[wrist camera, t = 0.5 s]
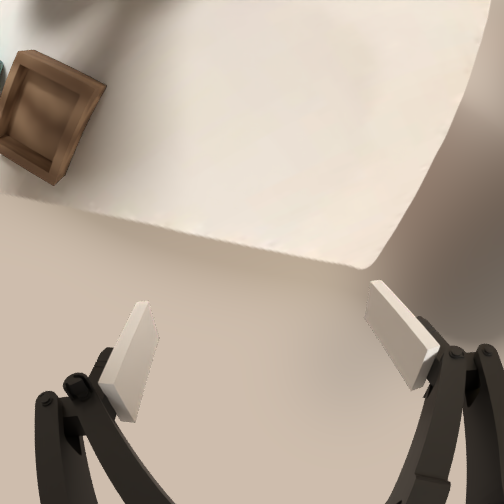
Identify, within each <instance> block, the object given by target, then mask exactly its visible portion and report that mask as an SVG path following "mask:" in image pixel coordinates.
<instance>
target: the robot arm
mask: <svg viewBox="0 0 504 504" xmlns="http://www.w3.org/2000/svg"><path fill="white" fill-rule="evenodd" d="M365 320H366V322H367V323H368V325H369V326H370V328H371V329H372V331H373V332H374V333H375V335H376V337H377V338H378V340H379V341H380V343H381V344H382V346H383V347H384V349H385V350H386V352H387V354H388V355H389V356H390V358H391V360H392V361H393V363H394V364H395V366H396V368H397V369H398V371H399V373H400V374H401V376H402V377H403V379H404V381H405V382H406V384H407V386H408V387H409V389H410V390H411V391H412V390H415V389H418V388H421V387H423V385H424V383H425V381H426V379H427V380H428V381H429V383H430V385H429V387H428V389H427V391H426V393H425V395H424V398H425V401H424V405H423V409H422V412H421V416H420V419H419V423H418V426H417V429H416V432H415V435H414V438H413V441H412V444H411V447H410V450H409V452H408V455H407V458H406V460H405V463H404V465H403V468H402V470H401V473H400V475H399V478H398V480H397V482H396V484H395V487H394V489H393V491H392V493H391V495H390V497H389V499H388V501H387V502H386V503H385V504H445V503H446V500H447V497H448V494H449V491H450V486H451V484H450V482H449V481H448V475H449V471H450V468H451V464H452V460H453V455H454V452H455V447H456V442H457V437H458V432H459V427H460V421H461V414H462V408H463V416H464V424H465V437H466V455H467V489H466V504H504V370H503V367H502V363H501V361H500V358H499V355H498V352H497V350H496V349H495V348H494V347H493V346H491V345H489V344H481V345H479V347H478V349H477V351H476V352H470V353H466V352H465V351H464V350H463V349H462V348H460V347H458V346H450V345H449V344H448V343H447V342H446V341H445V340H444V339H443V338H442V337H441V335H440V334H439V333H438V332H436V330H435V328H434V327H432V325H431V324H430V323H429V322H428V321H427V320H426V319H424V318H422V317H421V316H418V317H415V316H414V315H413V314H412V313H411V312H410V310H409V309H408V308H407V307H406V306H405V305H404V304H403V303H402V302H401V301H400V300H399V298H398V297H397V296H396V295H395V294H394V293H393V292H392V291H391V290H390V289H389V288H388V287H387V286H386V285H385V284H384V282H383V281H382V280H376V281H370V287H369V294H368V300H367V307H366V313H365ZM158 341H159V335H158V332H157V329H156V325H155V322H154V318H153V315H152V311H151V307H150V303H149V301H140V302H139V301H138V302H137V303H136V304H135V306H134V309H133V310H132V312H131V314H130V316H129V318H128V320H127V322H126V324H125V326H124V328H123V330H122V332H121V334H120V336H119V338H118V340H117V342H116V344H115V347H114V348H110V347H107V348H106V349H105V350H103V351H102V352H101V353H100V355H99V357H98V359H97V362H96V363H95V365H94V367H93V369H92V371H91V374H90V375H89V377H87V375H85V374H83V373H74V374H72V375H70V376H68V377H67V378H66V379H65V381H64V383H63V388H64V390H65V392H66V393H67V395H68V396H69V397H62V398H58V396H57V395H56V394H55V393H54V392H52V391H46V392H43V393H41V394H40V395H39V396H38V398H37V399H36V403H35V456H36V470H37V480H38V489H39V496H40V503H41V504H98V502H97V499H96V495H95V492H94V488H93V484H92V480H91V476H90V471H89V467H88V462H87V457H86V452H85V447H84V441H83V436H84V435H86V436H87V438H88V440H89V442H90V444H91V446H92V448H93V450H94V452H95V454H96V456H97V458H98V460H99V461H100V463H101V465H102V467H103V469H104V470H105V472H106V474H107V476H108V477H109V479H110V481H111V482H112V484H113V485H114V487H115V489H116V490H117V492H118V493H119V495H120V496H121V498H122V500H123V501H124V502H125V504H175V503H174V502H173V501H172V499H170V497H169V496H168V495H167V494H166V493H165V491H164V490H163V489H162V488H161V486H160V485H159V484H158V483H157V481H156V480H155V479H154V478H153V476H152V475H151V474H150V472H149V471H148V470H147V468H146V467H145V466H144V465H143V463H142V462H141V460H140V459H139V457H138V456H137V454H136V453H135V452H134V450H133V449H132V447H131V446H130V444H129V443H128V441H127V440H126V438H125V437H124V435H123V433H122V432H121V430H120V429H119V427H118V425H117V424H116V422H115V417H116V414H117V416H118V417H119V419H120V420H121V421H124V422H134V423H135V422H136V418H137V414H138V410H139V407H140V403H141V399H142V396H143V392H144V388H145V385H146V381H147V378H148V374H149V371H150V367H151V364H152V361H153V357H154V354H155V350H156V347H157V344H158Z"/></svg>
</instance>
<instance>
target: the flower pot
mask: <svg viewBox="0 0 504 504" xmlns="http://www.w3.org/2000/svg"><path fill="white" fill-rule="evenodd" d="M2 68H3V62H2V61H1V60H0V74H1V71H2Z"/></svg>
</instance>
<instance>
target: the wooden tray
mask: <svg viewBox="0 0 504 504" xmlns="http://www.w3.org/2000/svg"><path fill="white" fill-rule="evenodd" d="M106 87H107V86H106V85H105V84H103V83H101V82H99V81H97V80H95V79H93V78H91V77H89V76H87V75H85V74H84V73H82V72H80V71H78V70H76V69H74V68H72V67H70V66H67V65H65V64H63V63H61V62H59V61H57V60H55V59H53V58H51V57H49V56H46V55H44V54H42V53H40V52H38V51H35V50H26V51H18V53H17V55H16V57H15V60H14V62H13V64H12V67H11V69H10V72H9V74H8V77H7V79H6V82H5V85H4V88H3V91H2V94H1V97H0V154H2V155H4V156H5V157H7V158H8V159H10V160H12V161H13V162H15V163H16V164H18V165H20V166H21V167H23V168H25V169H26V170H28V171H29V172H31V173H33V174H34V175H36V176H38V177H39V178H41V179H43V180H44V181H46V182H48V183H49V184H51V185H53V186H54V185H55V184H56V183H57V182H58V181H59V180H61V179H62V178H63V177H64V176H65V175H66V172H67V170H68V167H69V164H70V162H71V159H72V157H73V154H74V152H75V150H76V147H77V145H78V143H79V140H80V138H81V136H82V134H83V131H84V129H85V127H86V125H87V123H88V121H89V119H90V117H91V115H92V113H93V111H94V109H95V107H96V105H97V103H98V101H99V99H100V98H101V96H102V94H103V92H104V90H105V89H106Z"/></svg>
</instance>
